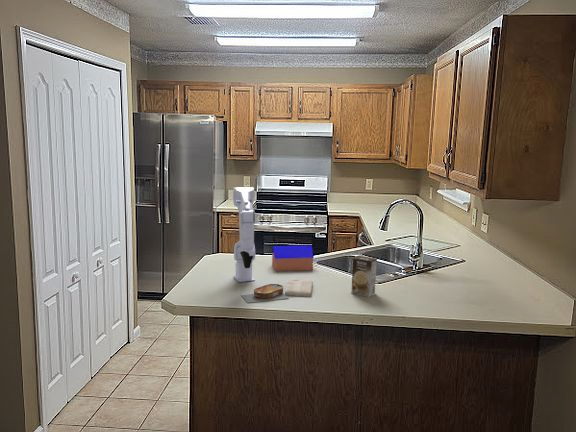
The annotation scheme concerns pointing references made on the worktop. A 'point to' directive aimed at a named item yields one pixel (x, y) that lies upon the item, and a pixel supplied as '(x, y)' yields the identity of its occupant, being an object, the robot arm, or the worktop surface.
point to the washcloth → (298, 288)
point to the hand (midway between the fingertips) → (247, 267)
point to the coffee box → (364, 276)
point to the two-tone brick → (292, 257)
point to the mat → (252, 299)
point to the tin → (268, 291)
